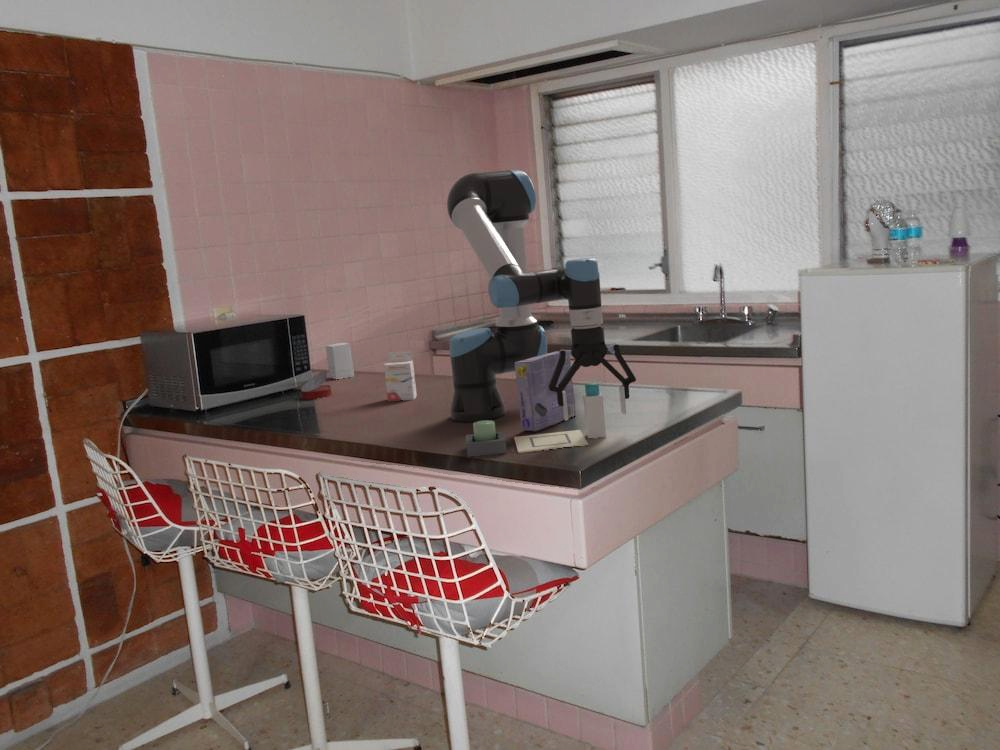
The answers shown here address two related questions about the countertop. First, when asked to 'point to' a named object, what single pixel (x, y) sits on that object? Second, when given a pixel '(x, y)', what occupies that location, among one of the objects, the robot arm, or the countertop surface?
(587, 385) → the teal capped white bottle
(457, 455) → the countertop surface
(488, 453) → the button box
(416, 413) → the countertop surface
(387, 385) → the ink cartridge box
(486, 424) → the button
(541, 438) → the cream square mat
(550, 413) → the cake pan box
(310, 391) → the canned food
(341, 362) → the supplement box
